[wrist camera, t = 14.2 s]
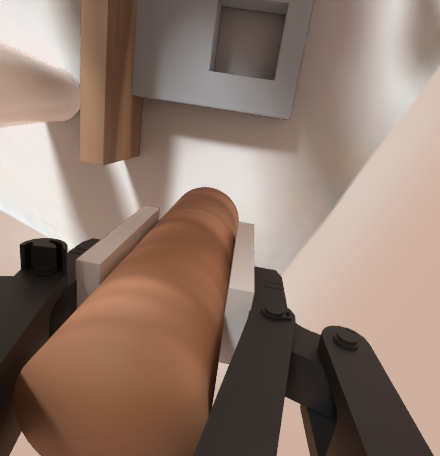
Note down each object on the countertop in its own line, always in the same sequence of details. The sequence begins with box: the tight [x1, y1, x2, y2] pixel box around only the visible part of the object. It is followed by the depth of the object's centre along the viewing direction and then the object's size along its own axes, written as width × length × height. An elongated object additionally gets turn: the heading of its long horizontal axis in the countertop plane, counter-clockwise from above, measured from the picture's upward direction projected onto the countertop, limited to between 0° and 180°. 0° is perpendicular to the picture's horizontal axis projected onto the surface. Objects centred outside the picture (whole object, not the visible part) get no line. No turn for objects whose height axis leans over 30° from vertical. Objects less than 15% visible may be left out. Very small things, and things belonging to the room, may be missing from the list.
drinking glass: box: [0, 41, 80, 128], centre depth 27 cm, size 7×7×15 cm
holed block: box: [132, 0, 314, 120], centre depth 30 cm, size 15×12×3 cm
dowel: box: [13, 187, 239, 456], centre depth 13 cm, size 4×4×14 cm
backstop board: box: [80, 0, 143, 165], centre depth 27 cm, size 2×24×9 cm, turn 171°
